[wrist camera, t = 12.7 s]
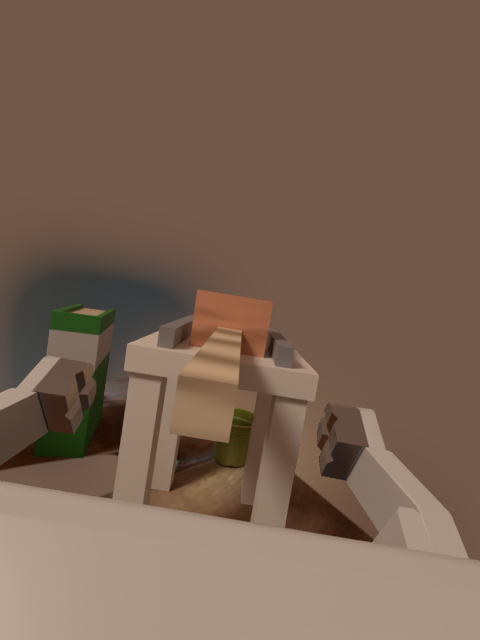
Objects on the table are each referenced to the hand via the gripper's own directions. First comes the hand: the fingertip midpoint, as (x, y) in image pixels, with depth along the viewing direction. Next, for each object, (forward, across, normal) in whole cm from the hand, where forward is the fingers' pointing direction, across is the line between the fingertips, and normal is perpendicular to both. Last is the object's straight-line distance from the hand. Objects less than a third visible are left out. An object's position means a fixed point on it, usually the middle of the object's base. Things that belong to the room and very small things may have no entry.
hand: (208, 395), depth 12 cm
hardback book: (+30, -27, -50) cm, 65 cm away
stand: (+13, 0, -39) cm, 41 cm away
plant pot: (+31, +3, -50) cm, 58 cm away
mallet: (+13, 0, -11) cm, 17 cm away
